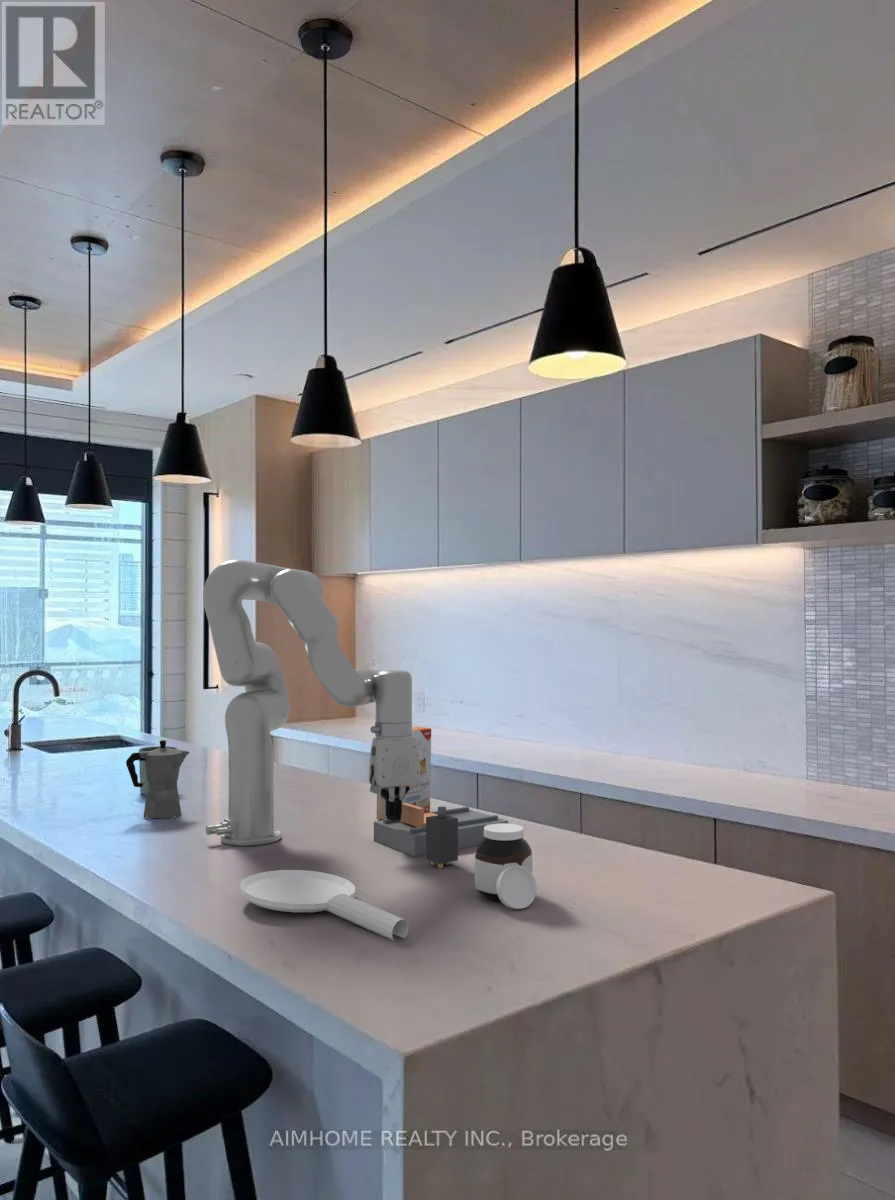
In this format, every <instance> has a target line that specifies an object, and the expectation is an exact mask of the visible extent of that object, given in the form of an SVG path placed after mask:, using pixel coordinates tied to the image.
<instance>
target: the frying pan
mask: <svg viewBox="0 0 895 1200" xmlns="http://www.w3.org/2000/svg"><path fill="white" fill-rule="evenodd" d="M238 891H239V892H240V894H241V895H242V897H243V898H245V900H247V901H248V902H250V903H252V904H254V905H256V906H258V907H261V908H265V909H268V910H273V911H279V912H287V913H288V912H289V913H316V912H324V911H327V912H329V913H331V914H333V915H335V916H338V917H340V918H342V919H345V920H347V921H348V922H351V923H353V924H355V925H358V926H359V927H362V928H364V929H367V930H368V931H370V932H373V933H376V934H377V935H379V936H383V938H386V939H388V940H390V941H393V942H396V940H395V939H394V936H397V937H399V938H403V939H406V937H407V936H408V933H409V929H410V928H409V922H408V921H407V919H405V918H403V917H400V916H398V915H395V914H393V913H390V912H388V911H386V910H383V909H381V908H379V907H376V906H373V905H372V904H369V903H367V902H365V901H362V900H359V899H358V898H355V896H356V886H355V884H353V883H352V882H351V881H350V880H348V879H347V878H344V877H341V876H340V875H339V876H338V875H336V874H331V873H326V872H322V871H316V870H315V871H314V870H304V869H279V870H269V871H262V872H258V873H254V874H251V875H249V876H247V877H245V878H243V879H242V880H241V882H240V884H239V888H238ZM393 935H394V936H393Z"/></svg>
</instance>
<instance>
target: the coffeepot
mask: <svg viewBox="0 0 895 1200" xmlns="http://www.w3.org/2000/svg"><path fill="white" fill-rule="evenodd" d="M166 745H167V740H165V739H164V740H160V741H159V746H161V748H158V749H155V750H151V751H148V752H141V753H139V751H138V752H132V753H131V754H130V755H129V756H128V758H127V759H126V762H125V764H126V767H127V770H128V773H129V776H130V779H131V782H132V785H133V787H135V788H140V787H142V786H143V783H140V781H138V780H139V776H138V774H137V772H136V765H135V764H134V762H136V761H139V760H140V761H145V767H146V775H147V781H148V791H147V795H146V798H145V805H144V811H143V817H144V818H145V817H148V818H147V819H149V818H166V819H171V818H170V817H173V818H175V817H174V816H177V817H179V816H181V814H182V810H181V809H182V808H181V803H180V796H179V790H178V789H179V788H178V780H179V774H180V768H181V767H182V764H183V762H184V761H185V759H186V757H187V756H188V755H189V754H190V752H189V751H188V750H181V749H178V750H176V749H170V748H165V746H166ZM178 815H179V816H178Z"/></svg>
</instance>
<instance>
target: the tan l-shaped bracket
mask: <svg viewBox="0 0 895 1200" xmlns="http://www.w3.org/2000/svg"><path fill="white" fill-rule="evenodd" d="M431 816H437V814H434V813H424V808H421V807H418V806H415V805H411V804H408V803H402V814H401V820H400V821H401V822H404V823H407V824H410V825H413V826H416V827H423V826H426V817H431Z"/></svg>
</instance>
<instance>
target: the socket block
mask: <svg viewBox="0 0 895 1200" xmlns="http://www.w3.org/2000/svg"><path fill="white" fill-rule="evenodd" d="M428 813H434V814H437V815H438V810H436V811H435V810H434V811H430V812H428ZM446 815H448V816H452V817H455V818H458V850H459V849H464V848H465V849H466V848H470V847H475V846H479V844H480V843H481V842H482V840H483V839H484V838H485V837H484V827H485V826H486V825H490V824H498V823H507V824H509V820H507V819H503V818H499V815H496V814H492V815H490V814H487V813H482V812H479V811H475V810H474V809H473V810H472V809H470V807H468V806H463V807H456V808H450V809H446ZM374 841H375V842H376V843H380V844H381V845H384V846H387V847H390V848H391V849H395V850H396V851H397V850H398V851H400V852H402V853H405V854H406V855H410V856H412V857H414V858H415V857H421V856H426V826H423V827H416V826H413V825H410V824H407V823H404V822H401V821H400V820H396V821H392V820H389V819H383V820H375V821H373V842H374Z"/></svg>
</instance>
